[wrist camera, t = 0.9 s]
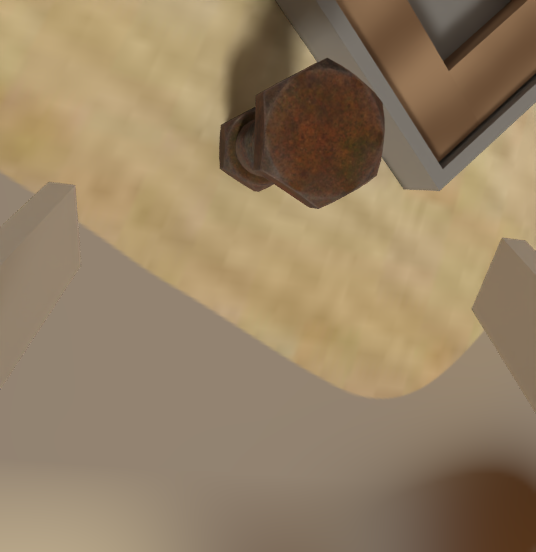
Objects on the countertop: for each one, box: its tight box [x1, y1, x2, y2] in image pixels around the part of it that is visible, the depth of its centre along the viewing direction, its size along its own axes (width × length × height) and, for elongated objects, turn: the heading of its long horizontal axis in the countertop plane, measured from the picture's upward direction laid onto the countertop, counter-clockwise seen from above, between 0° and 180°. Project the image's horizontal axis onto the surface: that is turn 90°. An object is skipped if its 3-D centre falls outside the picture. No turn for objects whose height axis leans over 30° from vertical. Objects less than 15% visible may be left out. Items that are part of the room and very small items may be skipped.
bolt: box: [219, 58, 385, 209], centre depth 26 cm, size 6×5×15 cm
